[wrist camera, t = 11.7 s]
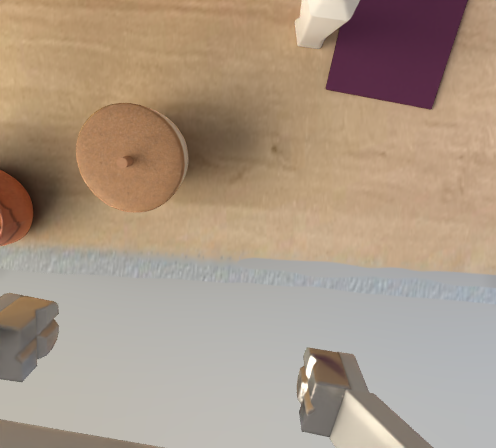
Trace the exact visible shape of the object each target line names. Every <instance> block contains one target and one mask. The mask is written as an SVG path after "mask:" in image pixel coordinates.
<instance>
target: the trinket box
mask: <svg viewBox="0 0 496 448" xmlns="http://www.w3.org/2000/svg"><path fill="white" fill-rule="evenodd" d="M76 157H77V164H78V167H79V171H80V173H81V176H82V178H83V180H84V182H85V183H86V185H87V186H88V188H89V189H90V190H91V191H92V192H93V194H94V195H96V196H97V197H98V198H99V199H100V200H101V201H103V202H104V203H106V204H107V205H109V206H111V207H113V208H116V209H119V210H122V211H126V212H146V211H149V210H153V209H155V208H157V207H159V206H161V205H162V204H164V203H165V202H167V201H168V200H169V199H170V198H171V197H172V196H173V195H174V193H175V192H176V191H177V189H178V188H179V187H180V185H181V184H182V182H183V180H184V178H185V175H186V172H187V169H188V150H187V145H186V142H185V140H184V138H183V136H182V134H181V132H180V131H179V129H178V128H177V126H176V125H175V124H174V123H173V122H172V121H171V120H170V119H168V118H167V117H166V116H164V115H163V114H161V113H159V112H157V111H155V110H153V109H150V108H147V107H144V106H141V105H136V104H131V103H117V104H111V105H108V106H105V107H103V108H101V109H99V110H98V111H96V112H95V113H94V114H92V115H91V116H90V117H89V118H88V119H87V121H86V122H85V123H84V125H83V127H82V128H81V130H80V133H79V136H78V139H77V145H76Z"/></svg>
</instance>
